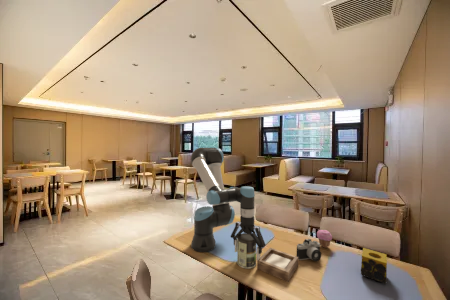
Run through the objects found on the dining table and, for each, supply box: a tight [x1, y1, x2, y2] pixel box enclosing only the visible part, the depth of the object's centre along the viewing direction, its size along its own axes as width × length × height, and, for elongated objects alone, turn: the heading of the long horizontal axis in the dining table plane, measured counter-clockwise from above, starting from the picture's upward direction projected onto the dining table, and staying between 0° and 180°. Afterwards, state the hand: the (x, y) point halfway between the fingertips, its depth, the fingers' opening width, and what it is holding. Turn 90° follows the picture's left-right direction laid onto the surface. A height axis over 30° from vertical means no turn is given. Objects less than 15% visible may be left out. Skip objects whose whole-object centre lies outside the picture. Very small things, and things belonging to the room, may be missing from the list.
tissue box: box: [360, 247, 388, 284], centre depth 97 cm, size 10×10×10 cm
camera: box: [295, 238, 322, 262], centre depth 110 cm, size 16×9×10 cm, turn 106°
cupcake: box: [316, 229, 333, 248], centre depth 125 cm, size 9×9×10 cm
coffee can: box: [236, 232, 257, 269], centre depth 105 cm, size 10×10×14 cm
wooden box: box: [256, 247, 299, 283], centre depth 102 cm, size 16×16×4 cm
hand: (247, 255), depth 105 cm, fingers open, 13 cm apart
